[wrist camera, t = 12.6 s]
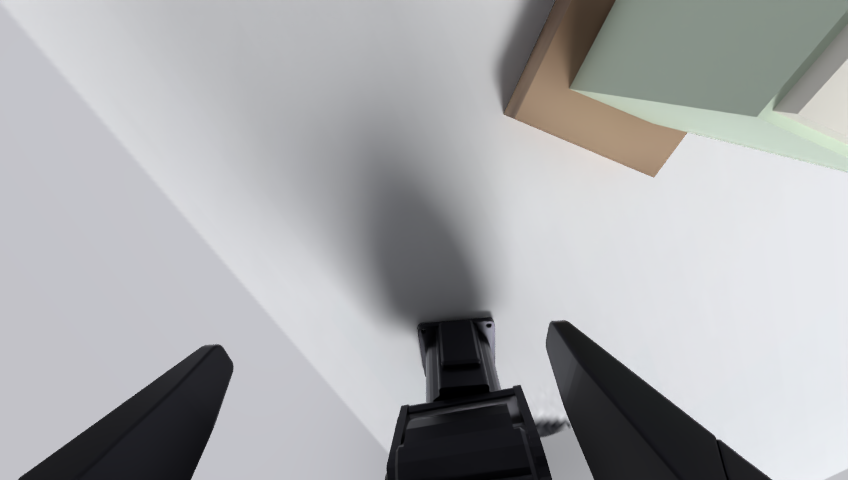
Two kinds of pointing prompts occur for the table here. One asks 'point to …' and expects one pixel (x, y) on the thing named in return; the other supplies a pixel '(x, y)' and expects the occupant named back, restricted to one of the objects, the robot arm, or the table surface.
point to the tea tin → (730, 72)
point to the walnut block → (576, 113)
